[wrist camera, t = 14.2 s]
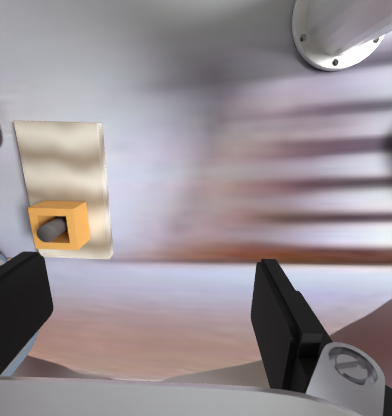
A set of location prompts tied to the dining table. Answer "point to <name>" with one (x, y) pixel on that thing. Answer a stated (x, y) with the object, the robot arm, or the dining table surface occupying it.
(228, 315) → the dining table surface
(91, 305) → the dining table surface
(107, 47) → the dining table surface
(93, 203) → the peg board
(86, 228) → the orange square frame
